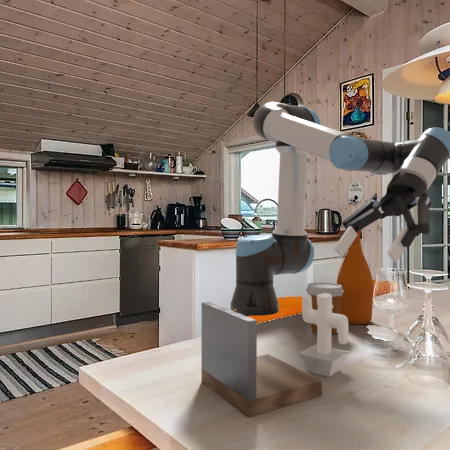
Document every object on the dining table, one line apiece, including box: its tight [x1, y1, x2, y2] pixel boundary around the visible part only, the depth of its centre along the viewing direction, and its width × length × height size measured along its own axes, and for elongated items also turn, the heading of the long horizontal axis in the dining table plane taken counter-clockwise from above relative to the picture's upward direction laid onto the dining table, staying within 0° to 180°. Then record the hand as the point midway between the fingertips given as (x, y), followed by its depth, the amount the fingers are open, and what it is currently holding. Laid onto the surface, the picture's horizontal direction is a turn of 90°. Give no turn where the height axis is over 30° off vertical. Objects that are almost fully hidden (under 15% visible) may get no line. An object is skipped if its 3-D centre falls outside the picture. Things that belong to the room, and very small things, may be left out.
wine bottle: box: [336, 229, 374, 325], centre depth 118 cm, size 10×10×30 cm
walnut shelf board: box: [201, 353, 323, 418], centre depth 73 cm, size 15×15×2 cm
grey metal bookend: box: [201, 301, 258, 401], centre depth 69 cm, size 2×15×12 cm, turn 31°
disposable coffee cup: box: [305, 282, 344, 335], centre depth 108 cm, size 10×10×12 cm
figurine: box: [298, 293, 350, 378], centre depth 81 cm, size 7×9×15 cm
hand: (363, 254), depth 84 cm, fingers open, 13 cm apart
